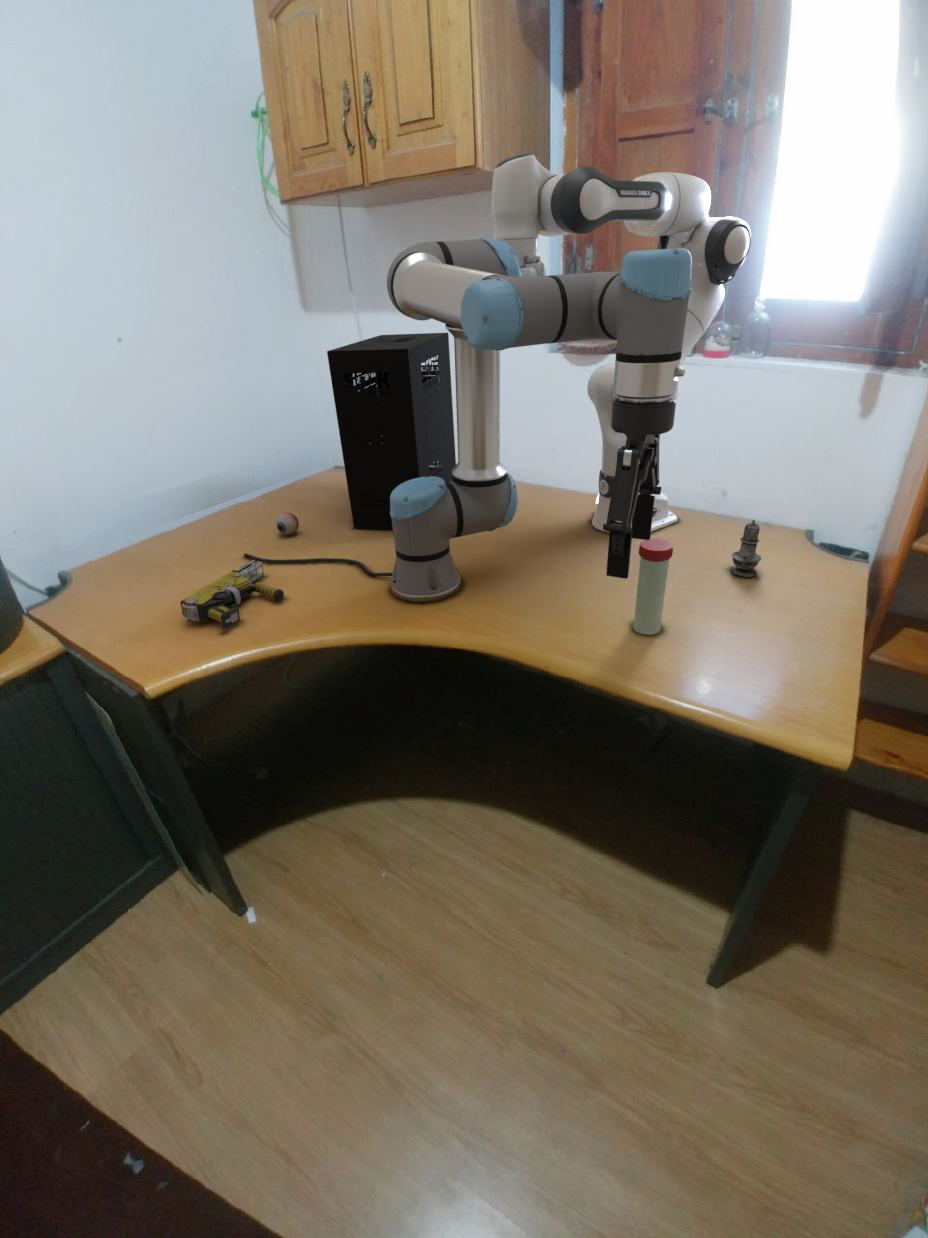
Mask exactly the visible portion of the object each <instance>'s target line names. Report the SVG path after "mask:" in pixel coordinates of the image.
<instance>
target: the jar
mask: <svg viewBox="0 0 928 1238" xmlns="http://www.w3.org/2000/svg"><path fill="white" fill-rule="evenodd" d="M669 563H670V559H668V560H665V561H650V560H646V559H643V558H642V557H640V560H639V570H638V578H637V587H636V597H635V599H636V600H635V607H634V616H633V626H632V627H633V630H634V631H635V632H637V633H638V634H641V635H646V636H652V635H657V634H658V633H660V631H661V626H662V619H663V611H664V603H665V594H666V588H667V580H668V579H667V578H668V571H669Z"/></svg>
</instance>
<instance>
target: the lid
mask: <svg viewBox="0 0 928 1238" xmlns="http://www.w3.org/2000/svg"><path fill="white" fill-rule="evenodd" d="M673 547H674V544H673V543H672V542H671V541H670V540H666V539H663V538H650V540H643V539H642V540H641V541H640V543H639V547H638V555H639V557H640V558H641V557H642V558H643V559H646V560H650V561H665V560H668V559H669V560H671V558H672V556H673V551H674V548H673Z"/></svg>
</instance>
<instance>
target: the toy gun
mask: <svg viewBox="0 0 928 1238" xmlns="http://www.w3.org/2000/svg"><path fill="white" fill-rule="evenodd" d="M260 569H261V571H262V572H258V570H260ZM264 575H265V571H264V564H263V562H261V561H257V560H254V559H251V560H250V561H248V562H247V563H244V565H242V566H239V567H238V568H237V569H233V570H231V571H229V572H228V573H226V574H224V575H222V576H220V577H219V578H217V579H216V580H214V581H212V582H211V583H209V584H207V585H205V586H204V587H202V588H200V589H198V590H196V591H195V592H193V593H191V594H190V595H188V596H186V597H184V598H183V599H182V600H181V601H180V602H179V603H180V607H181V613H182V616H183V617H184V618H185V619H186V620H187V622H189V623H190V622H191V623H196V622H198V623H203V622H208V621H212V620H214V621H216V622H219V623H221V625H222V626H221V627H222V630H223V629H224V630H227V629H228V628H230V627H232V626H234V625H236V624H238V623H240V622H241V617H240V616H241V615H240V609H239V605H241V602H242V599H244V598H245V597H247V596H250V595H252V594H253V593H254V592H255V593H258V594H260V595H262V596H263V595H264V597H268V598H270V599H273V600H274V601H277V602H279V601H281V600H283V599H284V597H285V593H284V591H283V590H282V589H281V588H275V587H274V586H271V585H268V584H266V583H263V582H260V581H258V582H256V583H255V584H254V585H253V584H252V583H254V582H255V581H257V580H258V579H260V578H261V577H264Z"/></svg>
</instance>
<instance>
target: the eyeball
mask: <svg viewBox="0 0 928 1238" xmlns="http://www.w3.org/2000/svg"><path fill="white" fill-rule="evenodd" d="M299 525H300V522H299V519H298V517H297V516H296V515H295V514H294V513H292V512H287V511H286V512H282V513H280V514H279V515H278V516H277V517H276V520H275V527H276V529H277V530H278V531H279V532H280V533H281V534H282V535H285V536H286V535H287V536H289V535H293V534H295V533H296V532H297V531H298V529H299Z"/></svg>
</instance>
